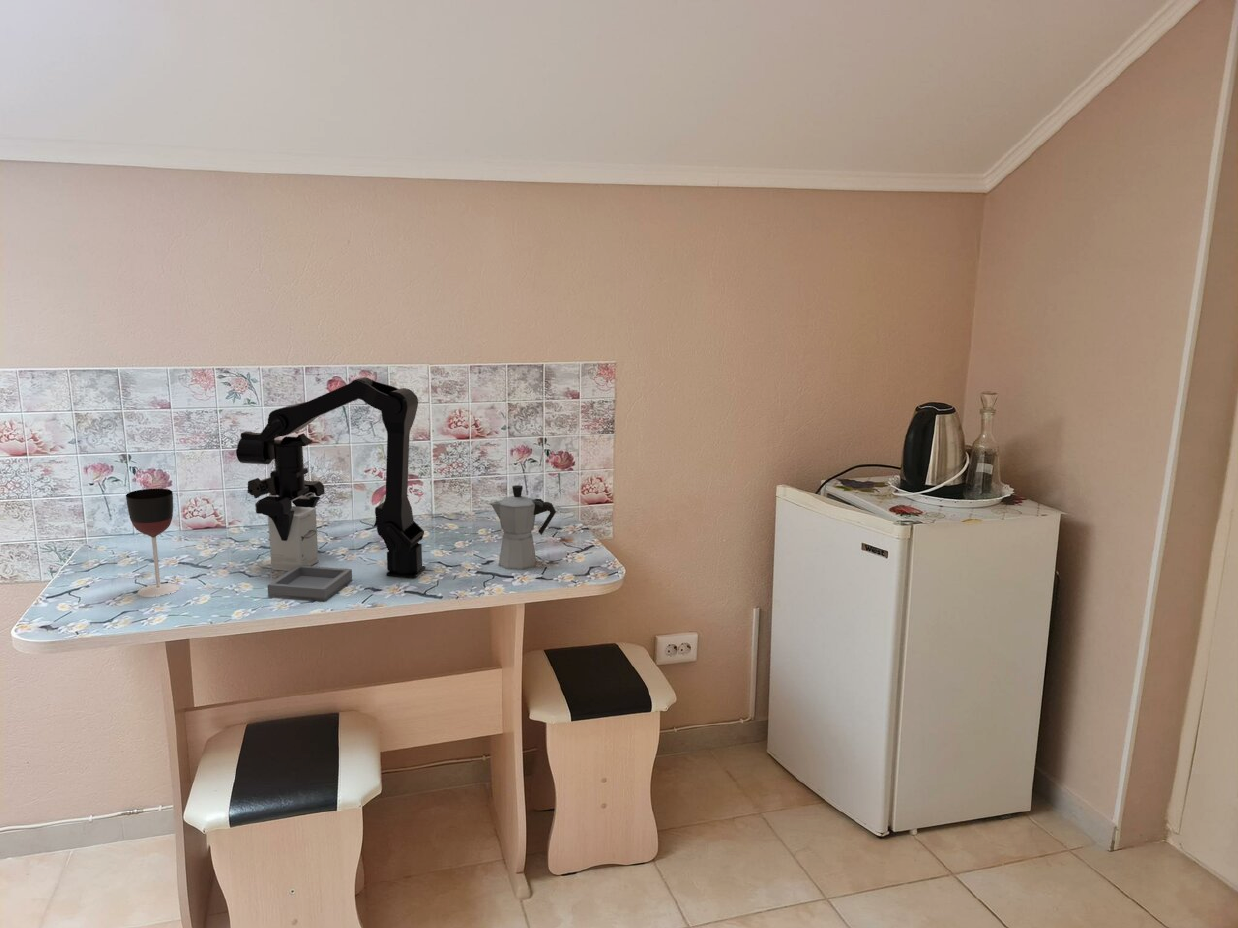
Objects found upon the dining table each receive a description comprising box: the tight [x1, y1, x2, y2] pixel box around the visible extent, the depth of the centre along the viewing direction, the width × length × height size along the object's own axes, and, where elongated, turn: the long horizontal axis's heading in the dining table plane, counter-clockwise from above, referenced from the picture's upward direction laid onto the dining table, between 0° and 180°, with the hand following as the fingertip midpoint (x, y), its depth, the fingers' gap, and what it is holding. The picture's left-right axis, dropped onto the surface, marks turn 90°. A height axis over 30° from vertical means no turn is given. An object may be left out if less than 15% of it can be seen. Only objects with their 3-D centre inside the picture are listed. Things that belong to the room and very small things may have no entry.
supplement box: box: [267, 505, 319, 572], centre depth 188 cm, size 7×7×13 cm
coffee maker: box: [488, 484, 557, 571], centre depth 192 cm, size 15×9×18 cm, turn 88°
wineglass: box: [125, 488, 181, 598], centre depth 171 cm, size 8×9×20 cm
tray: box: [267, 565, 353, 602], centre depth 176 cm, size 12×12×2 cm
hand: (293, 535), depth 188 cm, fingers closed on supplement box, 7 cm apart
